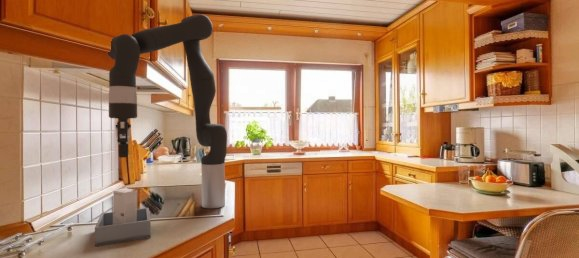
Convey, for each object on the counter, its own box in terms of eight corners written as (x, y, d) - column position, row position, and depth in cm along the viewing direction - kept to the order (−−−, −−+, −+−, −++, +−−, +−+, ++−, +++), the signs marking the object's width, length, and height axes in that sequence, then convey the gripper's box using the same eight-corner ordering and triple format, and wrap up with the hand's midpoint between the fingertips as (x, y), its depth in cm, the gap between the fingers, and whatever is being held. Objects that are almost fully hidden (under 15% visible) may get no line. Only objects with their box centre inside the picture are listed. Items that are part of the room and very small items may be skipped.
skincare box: (111, 230, 90) (111, 190, 90) (126, 226, 93) (126, 187, 93) (123, 234, 86) (123, 192, 86) (138, 229, 90) (137, 189, 90)
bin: (101, 229, 94) (101, 213, 94) (148, 222, 100) (148, 207, 100) (95, 246, 80) (94, 227, 80) (150, 237, 86) (150, 220, 86)
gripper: (137, 101, 85) (137, 157, 85) (137, 104, 98) (137, 153, 98) (106, 100, 82) (107, 159, 82) (110, 103, 94) (111, 154, 95)
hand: (124, 156), depth 90 cm, fingers open, 8 cm apart
